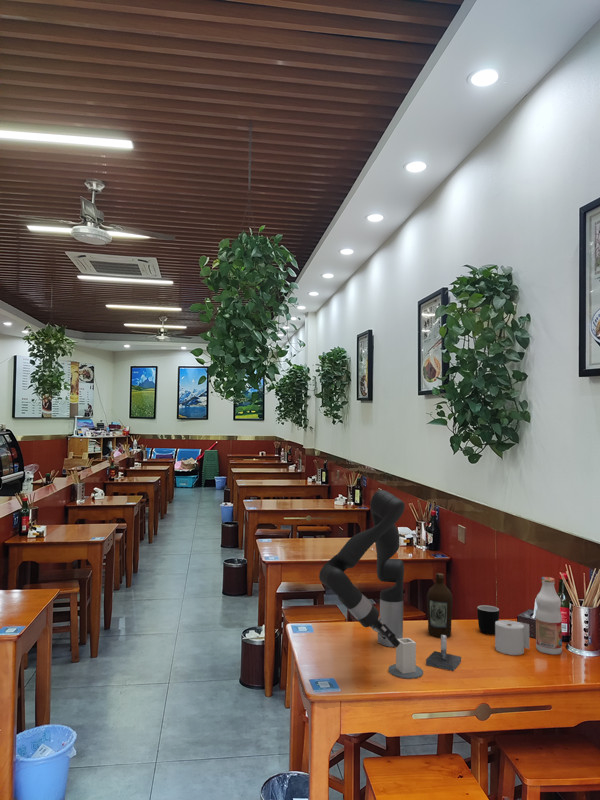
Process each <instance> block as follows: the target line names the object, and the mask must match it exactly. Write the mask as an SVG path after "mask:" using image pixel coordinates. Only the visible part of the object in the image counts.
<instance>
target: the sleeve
mask: <svg viewBox="0 0 600 800" xmlns="http://www.w3.org/2000/svg"><path fill="white" fill-rule="evenodd" d="M397 640H398V641H399V642H400V644H399V645H398V647H395V664H396V669H398V670H399V671H400V672H402V673H403V674H404V673H412V672H416V666H417V660H416V659H417V654H416V653H417V651H416V650H417V642H415V641H414V640H413V639H411V638H410V637H403V638H402V639H397Z"/></svg>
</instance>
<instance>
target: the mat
mask: <svg viewBox="0 0 600 800" xmlns="http://www.w3.org/2000/svg"><path fill="white" fill-rule="evenodd" d="M388 673H389V674H390V675H392V676H394V677H396V678H400V679H406V680H413V679H412V678H415V679H419V678H421V677H423V676H422V675H424V670H423V669H422V668H421V667H420V666H418V665H416V672H412V673H404V674H403V673H402V672H400V671H399V670H398V669H396V663H394V664H391V665H389V666H388ZM418 677H419V678H418Z"/></svg>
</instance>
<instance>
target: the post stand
mask: <svg viewBox="0 0 600 800" xmlns="http://www.w3.org/2000/svg"><path fill="white" fill-rule="evenodd" d="M447 639H448V637H447V636H446V635H441V638H440V651H433V652H431V654H430V655H429V656H427V658H426V659H425V666H429V667H433V668H437V669H442V670H446V669H447V671H450V670H451V672H455V670H456V669H457V667H458V666H459V665H460V664H461V663H462V656H460V655H455V654H450V653H447V651H448V650H447V645H448V644H447Z"/></svg>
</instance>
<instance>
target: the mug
mask: <svg viewBox="0 0 600 800" xmlns="http://www.w3.org/2000/svg"><path fill="white" fill-rule="evenodd" d="M476 611H477V612H476V613H477V623H478V628H479V631H480V633H481V634H484V635H488V634H490V635H492V634H494V635H495V622H496V621H499V620H500V609H499V608H498V607H496V606H493V605H485V604H484V605H478V606H477V610H476ZM490 635H489V636H490ZM492 636H493V635H492Z"/></svg>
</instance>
